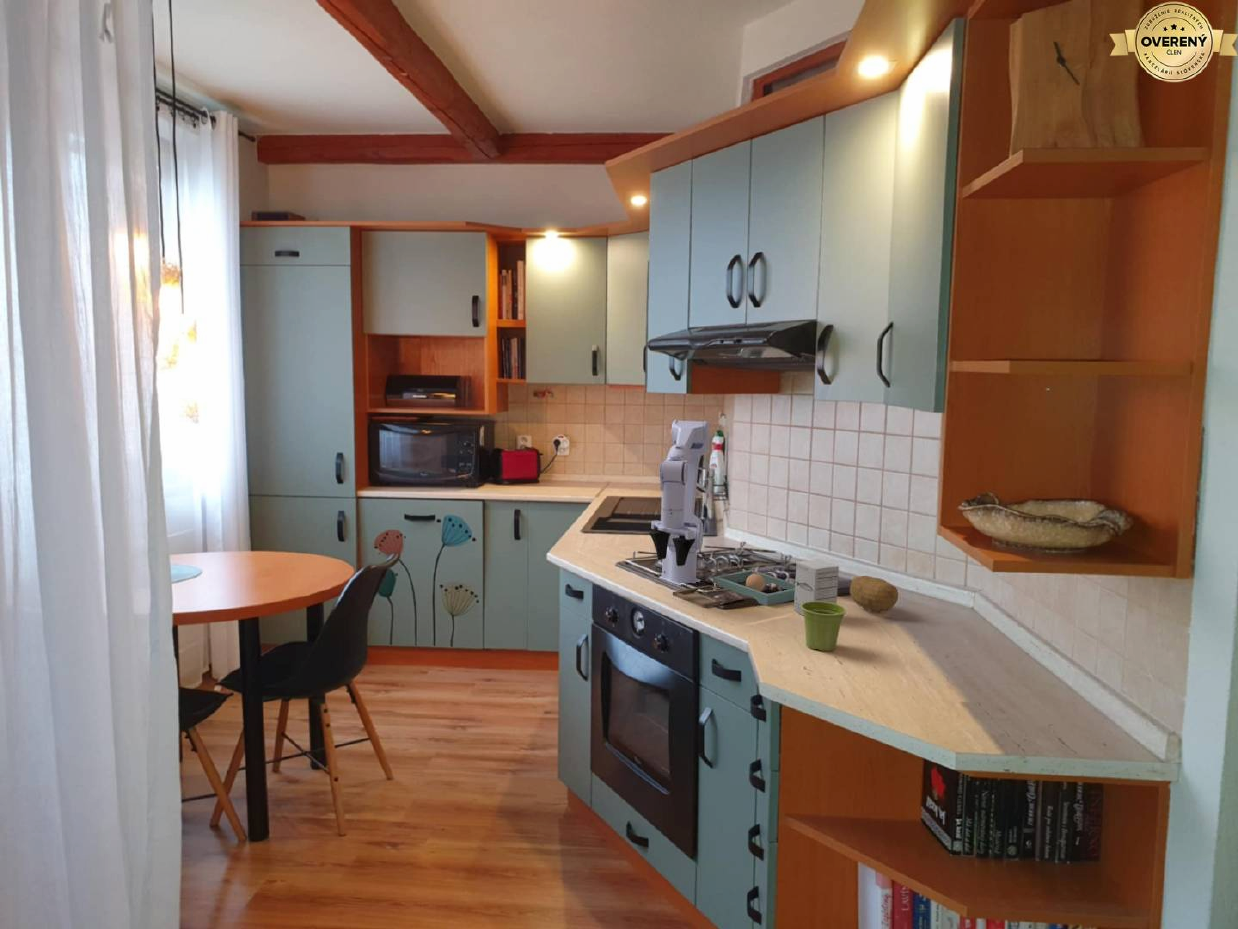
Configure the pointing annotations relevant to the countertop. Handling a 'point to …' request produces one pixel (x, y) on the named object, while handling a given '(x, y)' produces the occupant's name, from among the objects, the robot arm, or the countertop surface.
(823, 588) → the supplement box
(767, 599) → the tray
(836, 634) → the plant pot
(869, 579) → the potato
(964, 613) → the countertop surface
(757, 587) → the ball
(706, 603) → the wooden trivet
